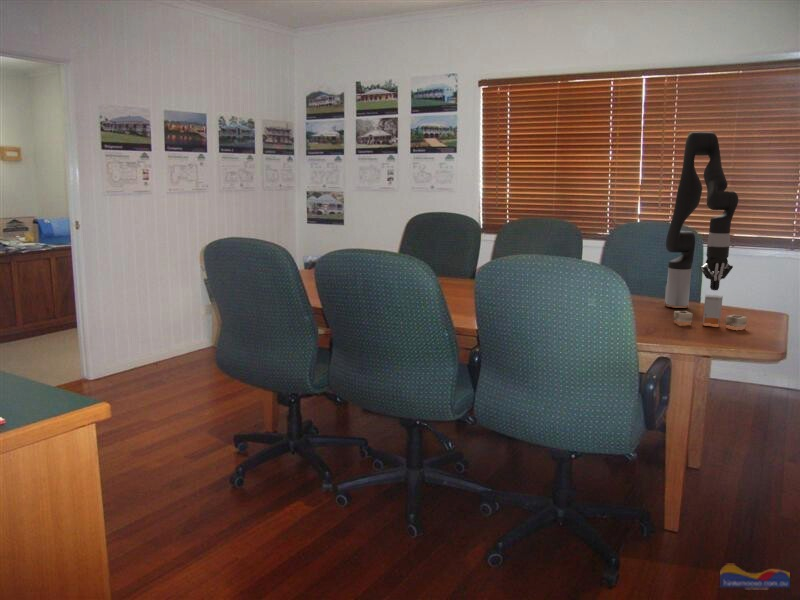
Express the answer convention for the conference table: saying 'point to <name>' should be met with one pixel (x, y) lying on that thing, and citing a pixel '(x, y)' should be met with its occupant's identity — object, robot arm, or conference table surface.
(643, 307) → the conference table surface
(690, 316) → the marked block
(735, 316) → the marked block
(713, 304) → the skincare box
